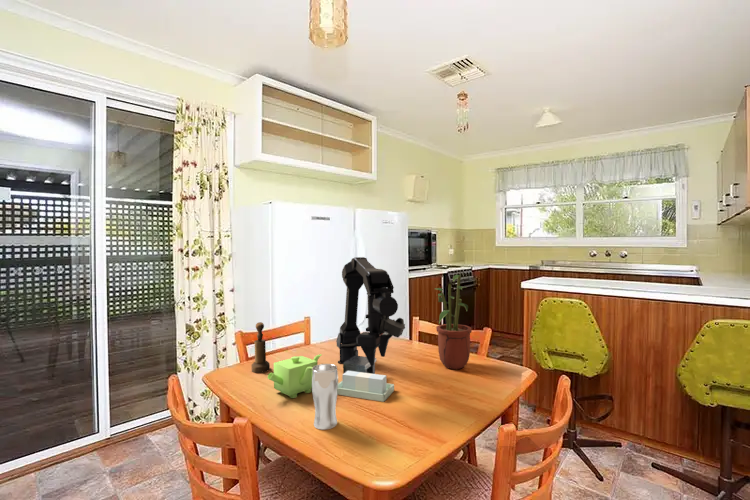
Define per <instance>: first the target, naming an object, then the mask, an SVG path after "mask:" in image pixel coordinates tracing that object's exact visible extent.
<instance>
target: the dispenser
mask: <svg viewBox="0 0 750 500" xmlns="http://www.w3.org/2000/svg"><path fill="white" fill-rule="evenodd" d="M376 362H377V357H375V362H374V365H370V363H369V361H368V359H367V357H366V356H364V355H363V356H362V355H358V356H353V357H351V358H350V359H348V360H347V361H345V362H344V363H342V370H343V371H342V375H343V374H344V373H345V372H347V371H355V372H363V373H371V374H376Z"/></svg>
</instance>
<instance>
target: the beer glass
mask: <svg viewBox="0 0 750 500" xmlns="http://www.w3.org/2000/svg"><path fill="white" fill-rule="evenodd" d="M338 383H339V373H338V366H337V365H336V364H333V363H321V364H318V365H316V366H314V367H313V368H312V389H311V391H312V392H311V393H312V400H313V405H314V420H313V426H314V428H315V429H317V430H321V431H324V430H325V431H326V430H327V431H328V430H331V429H333V428H335V427H336V426H337V425H338V419H337V414H336V409H337V408H336V406H337V400H338V395H337V394H338Z"/></svg>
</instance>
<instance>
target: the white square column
mask: <svg viewBox="0 0 750 500" xmlns="http://www.w3.org/2000/svg"><path fill="white" fill-rule="evenodd" d="M341 378H342V379H341V381H342V383H343V388H344V389H351V390H357V391H364V392H371V393H378V394H384V393H385V392H386V391H387V383H388V382H387V375H384V374H378V373H375V374H371V373H363V372H355V371H347V372H345V373H344V374H343V373H342V377H341Z"/></svg>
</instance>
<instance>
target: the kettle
mask: <svg viewBox="0 0 750 500" xmlns="http://www.w3.org/2000/svg"><path fill="white" fill-rule="evenodd" d="M322 355H323V354H321V353H320V354H319V353H318V354H317V355H315V356H314V357H313V359H312V358H309V357H306V356H303V355H299V356H297V355H296V356H295V355H294V356H292V357H291V358H287V359H283V360H280V361H276V362H273V372H270V373H268V375H267V380H270V381H272V382H273V389H275V390H277V391H279V392H280V394H284V395H286V396H288V397H289V398H290V399H296V398H297V397H298V394H299V393H302V392H304V393H305V394H310V393H312V368H313V367H314V366H316V365H319V364H318V361H319V359H320V357H321V356H322Z"/></svg>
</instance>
